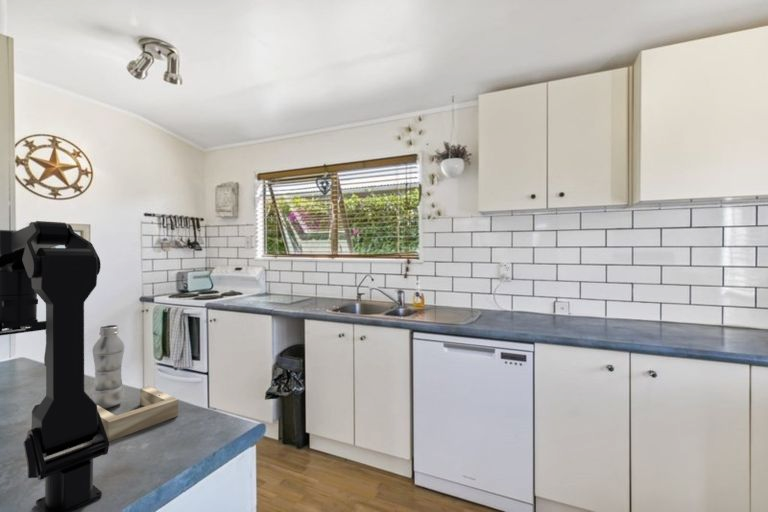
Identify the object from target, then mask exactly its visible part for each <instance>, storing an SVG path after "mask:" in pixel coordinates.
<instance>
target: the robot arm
mask: <svg viewBox="0 0 768 512" xmlns="http://www.w3.org/2000/svg"><path fill="white" fill-rule="evenodd" d="M58 246H64V247H58ZM100 270H101V259H100V257H99V255H98V253H97V251H96V249H95V247H94V245H93V243H92V242H90V241H89V240H87V239H85V238H84V237H82V236H80V235H79V234H78V233H77V232H75V231H74V229H73V227H72V225H71V224H69V223H68V224H67V223H66V222H61V221H60V222H58V221H45V220H43V221H42V220H36V221H35V222H33V221H31V222H30V223H29V224H28V226H25V227H23V228H20V229H18V230H16V229H15V230H13V229H12V230H11V229H0V336H1V337H2V336H6V335H7V336H8V335H15V334H22V333H30V332H31V333H32V332H37V331H38V332H39V331H45V349H44V351H45V352H44V357H43V359H44V361H43V362H44V367H45V375H46V376H45V379H46V380H45V382H46V383H45V390H46V391H45V396H44V398H43V399H42V401H41V402H40V403H39V404H36V405H34V407H33V408H32V410H31V429H28V431H27V433H26V437H25V440H24V441H23V449H24V453H25V459H26V464H27V478H28V479H36V478H37V479H38V480H39V481H41V480H44V482H45V484H44V487H45V488H44V496H43V497H41V498H39V499H38V498H37V499H36V501H35V506H37V508H38V509H39V510H40V511H41V512H72V511H74V510H76V509H78V508H80V507H83V506H84V505H87V504H88V503H91V502H93V501H95V500H97V499H100V498H101V497H102V496H103V492H102V490H100V489H99V488H98V487H96V485H94V459H96V458H99V457H101V456H105V455H108V453H109V448H110V441H108V438H107V435H106V432H105V429H104V426H103V423H102V420H101V417H100V414H99V412H98V411H97V405H96V404H95V403H94V401H93V400H92V397H90V396H89V395H88V394H87V393H86V391H85V302H86V300H88V298H89V297H90V296H91V294H92V292H93V290H95V288H96V287H97V284H98V275H99V274H100V273H101V272H100ZM38 296H39V298H40V299H41V300H42V301H43V302H44V304H45V320H41V321H39V320H38V318H37V317H38V315H37V313H38V309H37V308H38V304H39V299H38ZM90 442H91V443H90ZM86 443H88V444H86ZM84 444H86V445H84ZM81 445H83V446H81ZM78 446H80V447H78ZM76 447H77V448H76ZM72 448H75V449H72ZM69 449H71V450H69ZM67 450H69V451H67ZM64 451H67V452H64ZM62 452H63V453H62ZM58 453H60V454H58ZM56 454H58V455H56ZM52 455H54V456H52ZM50 456H52V457H50ZM46 457H49V458H47V459H45V458H46Z"/></svg>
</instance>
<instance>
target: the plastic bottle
mask: <svg viewBox="0 0 768 512" xmlns="http://www.w3.org/2000/svg"><path fill="white" fill-rule="evenodd" d="M118 334H119V325H117V324H109V325H102V326H100V327H99V336H100V337H99V338H98V340H97V341H95V343H94V345H93V347H92V355H93V356H92V358H93V362H94V376H95V377H94V383H93V384H94V385H93V390H92V395H91V399H92V400H93V401H94V403H95V404H97V405H98V406H100V407H102V408H103V409H108V408H113V407H115V406H118V405H119V404H121V403H122V401H123V400H124V396H125V390H124V385H123V378H122V376H123V375H122V366H123V357H124V352H125V351H124V350H125V344H124V342H123V339H121V338H120V337H119V336H118Z"/></svg>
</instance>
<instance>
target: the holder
mask: <svg viewBox="0 0 768 512" xmlns="http://www.w3.org/2000/svg"><path fill="white" fill-rule="evenodd" d="M159 395H160V396H159ZM96 405H97V404H96ZM139 405H141V406H142V407H139V408H136V409H133V410H131V411H127V412H124V413H121V414H117V415H115V414H114V413H113V412H111V411H108V410H106V408H104V409H103V408H102V407H100V406H98V405H97V411H98V412H99V414H100V417H101V420H102V423H103V426H104V429H105V432H106V435H107V438H108V441H109V442H111V441H114V440H117V439H120V438H122V437H125V436H128V435H130V434H131V435H132V434H133V433H136V432H138V431H141V430H144V429H146V428H149V427H152V426H155V425H158V424H160V423H163V422H165V421H168V420H170V419H171V420H172V419H173V418H176V417H178V416H179V398H176V397H174V396H172V395H170V394H167V393H165V392H163V391H160V390H158V389H156V388H154V387H152V386H149V385H148V386H145V387H144V386H143V387H141V388H139Z"/></svg>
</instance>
